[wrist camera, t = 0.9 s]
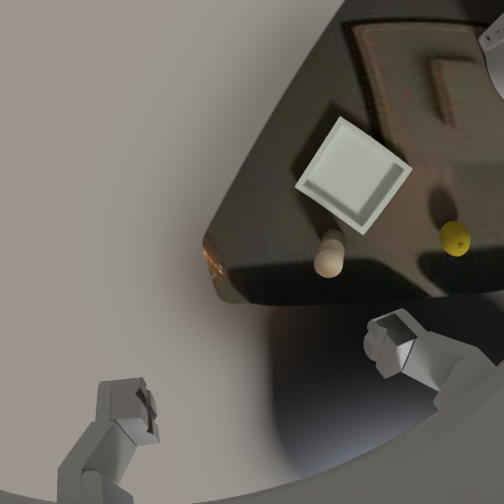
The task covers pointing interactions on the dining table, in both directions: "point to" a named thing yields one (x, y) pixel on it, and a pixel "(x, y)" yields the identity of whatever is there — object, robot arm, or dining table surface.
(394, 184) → the tray
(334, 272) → the dowel
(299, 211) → the dining table surface
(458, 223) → the lemon
